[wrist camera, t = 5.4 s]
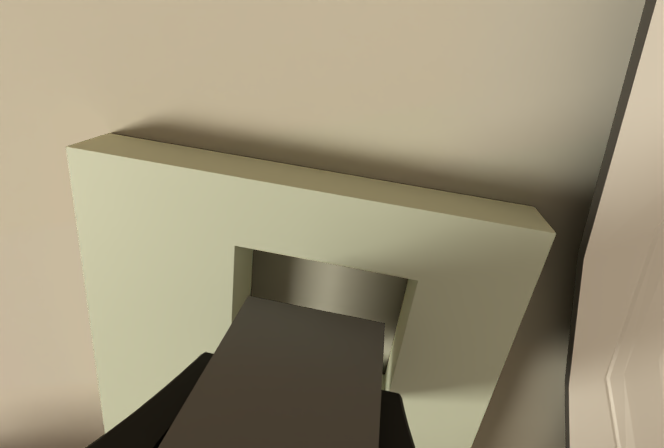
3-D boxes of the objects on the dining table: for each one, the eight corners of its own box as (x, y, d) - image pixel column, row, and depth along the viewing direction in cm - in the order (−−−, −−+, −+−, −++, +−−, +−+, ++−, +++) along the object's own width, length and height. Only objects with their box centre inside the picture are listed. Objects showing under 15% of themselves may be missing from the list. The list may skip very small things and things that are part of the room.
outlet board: (430, 493, 19) (433, 541, 17) (135, 425, 20) (108, 464, 18) (533, 206, 13) (556, 233, 11) (109, 133, 14) (65, 146, 12)
